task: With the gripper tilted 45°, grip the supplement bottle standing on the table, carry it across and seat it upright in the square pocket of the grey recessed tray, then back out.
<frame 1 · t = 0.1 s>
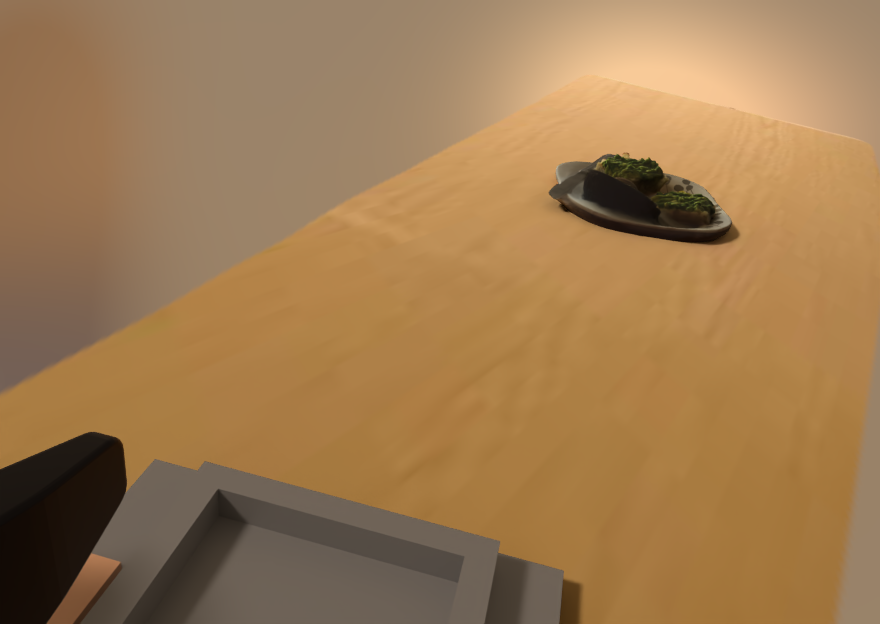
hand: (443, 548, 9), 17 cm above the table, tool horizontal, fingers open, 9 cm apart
salad plate: (632, 211, 71), on the table
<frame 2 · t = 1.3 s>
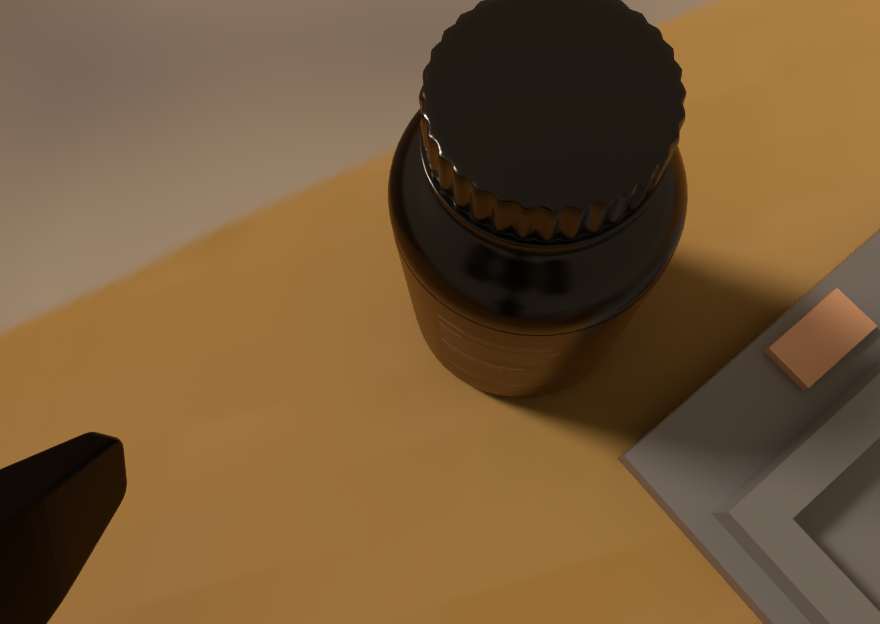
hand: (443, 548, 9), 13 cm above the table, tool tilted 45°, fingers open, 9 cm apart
supplement bottle: (515, 301, 24), on the table
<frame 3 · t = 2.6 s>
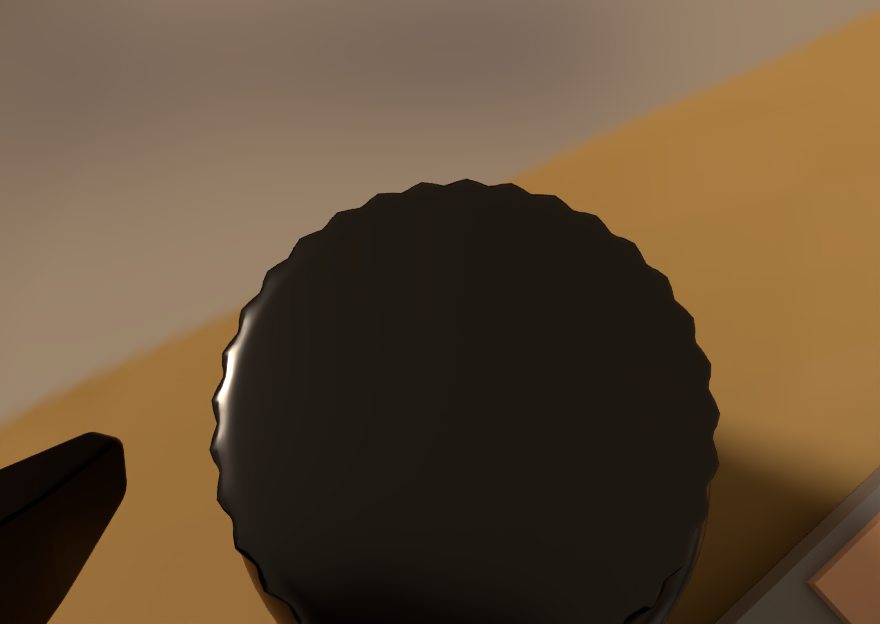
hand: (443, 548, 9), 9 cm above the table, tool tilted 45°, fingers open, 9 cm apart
supplement bottle: (469, 489, 18), on the table
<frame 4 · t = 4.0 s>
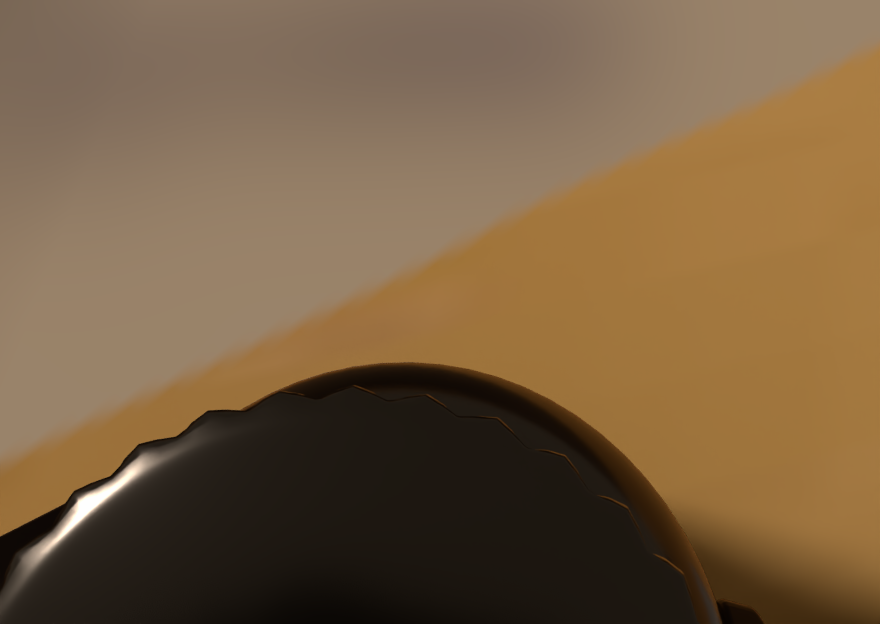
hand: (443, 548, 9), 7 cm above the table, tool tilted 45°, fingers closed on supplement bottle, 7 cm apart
supplement bottle: (438, 603, 15), on the table, touching gripper
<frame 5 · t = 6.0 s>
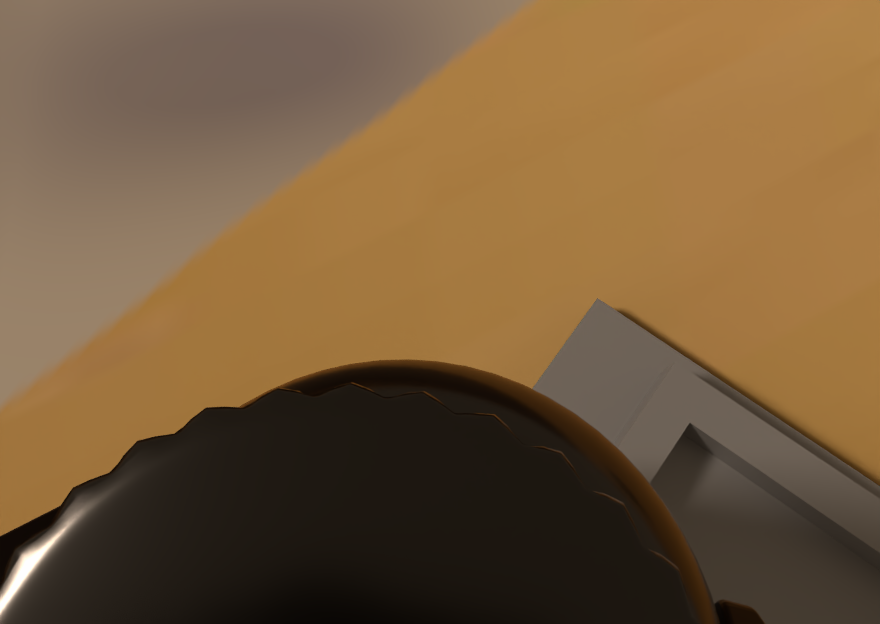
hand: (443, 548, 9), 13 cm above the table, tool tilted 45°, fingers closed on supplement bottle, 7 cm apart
supplement bottle: (436, 599, 15), point 6 cm above the table, touching gripper
when the fingers open (8 cm above the table, at t = 8.1 s): supplement bottle stays where it is, resting on grey recessed tray.
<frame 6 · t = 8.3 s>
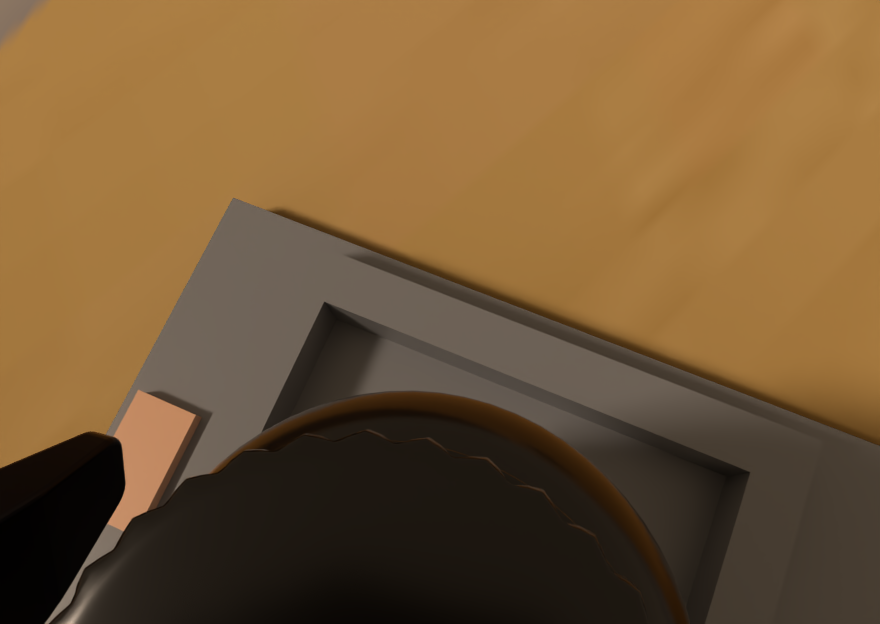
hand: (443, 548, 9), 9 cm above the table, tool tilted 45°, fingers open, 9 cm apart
supplement bottle: (438, 606, 16), point 1 cm above the table, touching grey recessed tray
grey recessed tray: (444, 594, 17), on the table
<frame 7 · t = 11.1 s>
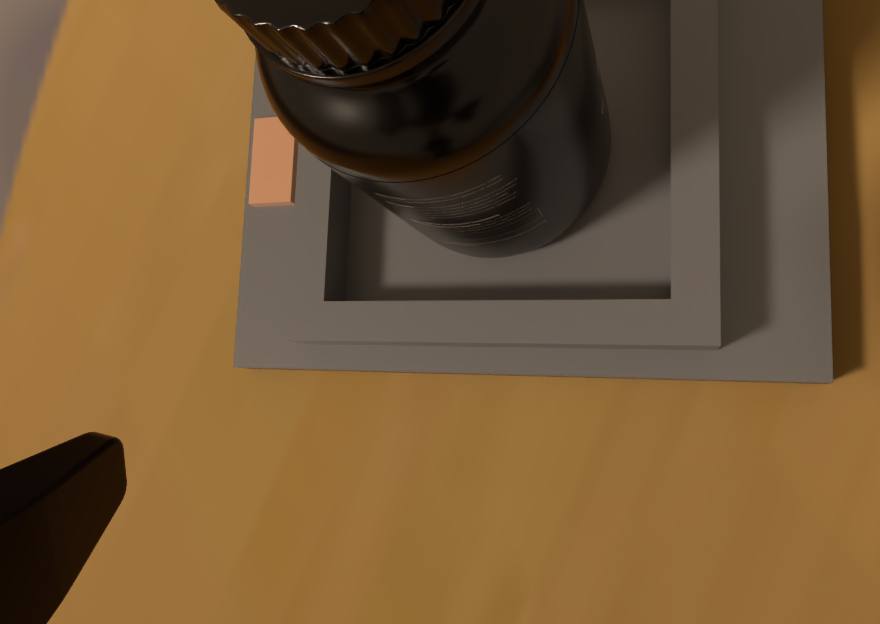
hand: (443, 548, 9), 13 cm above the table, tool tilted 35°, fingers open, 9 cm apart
supplement bottle: (501, 155, 22), point 1 cm above the table, touching grey recessed tray
grey recessed tray: (507, 157, 23), on the table
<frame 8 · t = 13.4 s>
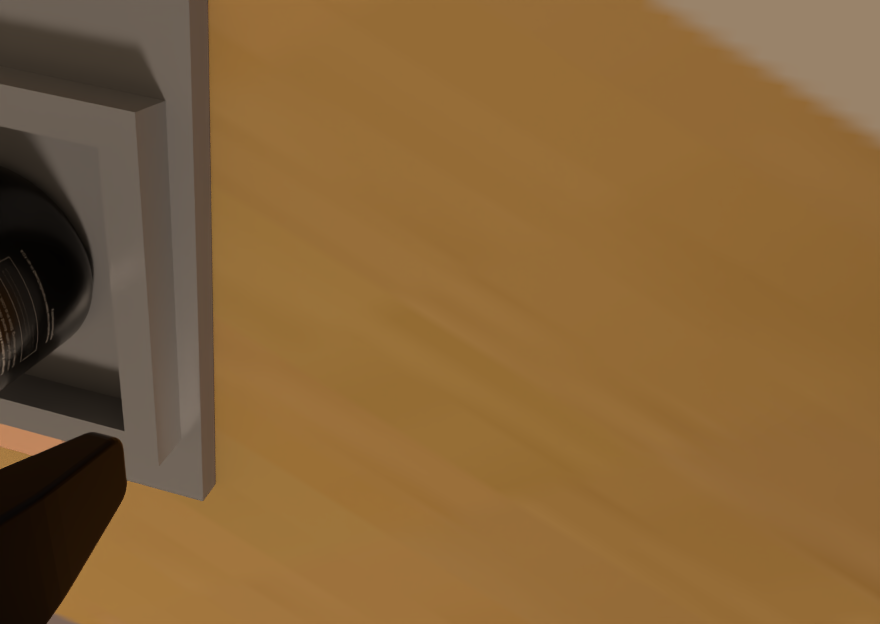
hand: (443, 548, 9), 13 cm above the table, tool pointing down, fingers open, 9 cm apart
supplement bottle: (12, 250, 24), point 1 cm above the table, touching grey recessed tray
grey recessed tray: (23, 240, 25), on the table
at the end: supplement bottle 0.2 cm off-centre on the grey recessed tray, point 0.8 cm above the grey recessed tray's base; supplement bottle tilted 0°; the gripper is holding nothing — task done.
